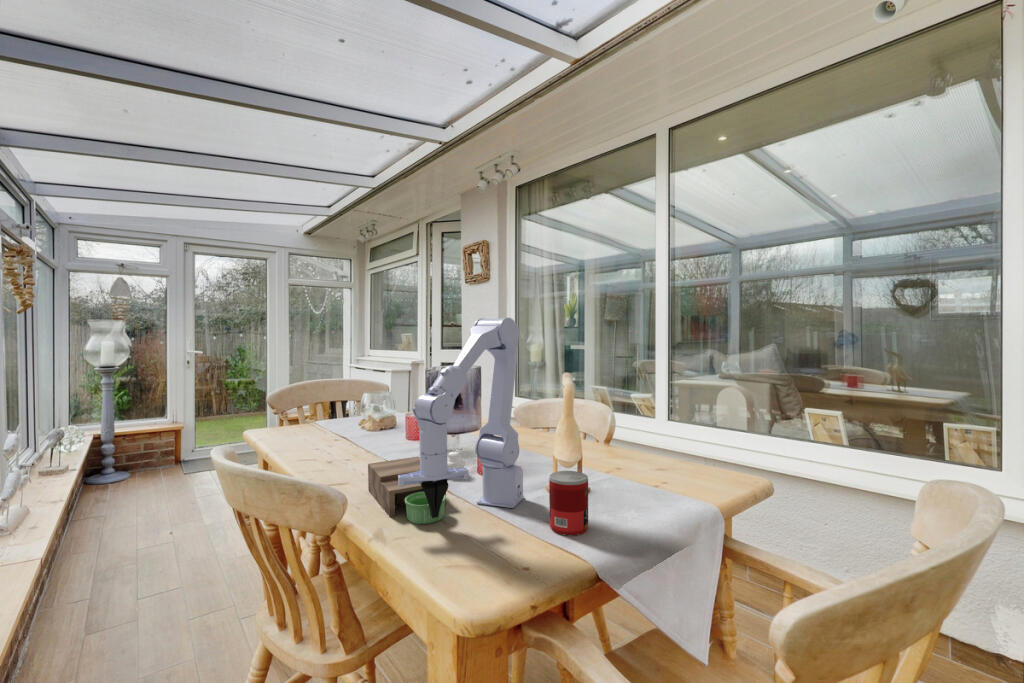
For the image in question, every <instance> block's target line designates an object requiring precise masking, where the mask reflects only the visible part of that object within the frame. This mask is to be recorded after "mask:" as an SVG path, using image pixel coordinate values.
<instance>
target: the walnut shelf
mask: <svg viewBox="0 0 1024 683" xmlns="http://www.w3.org/2000/svg"><path fill="white" fill-rule="evenodd" d="M417 471H420V456H412V457H405V458H399V459H392V460H384V461H379V462H373V463H371V462H370V463H368V464H367V476H368V479H367V480H368V482H367V485H368V492H369V493H370V494H371V496H372V497H373V498H374V499H375V501H376V502H377V504H379V506H380V508H381V509H382V510H385V511H384V512H385V513H386V515H389V516H388V517H389V518H392V517H391V516H393V517H395V516H396V506H398V504H403V503H405V498H406V497H407V496H408V495H410V494H413V493H417V492H423V491H424V490H423V488H422V486H421V484H412V485H405V486H404V487H399V485H398V475H403V474H408V473H413V472H417ZM445 496H446V497H447V492H446V493H445ZM446 506H447V499H446V500H445V507H446Z"/></svg>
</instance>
